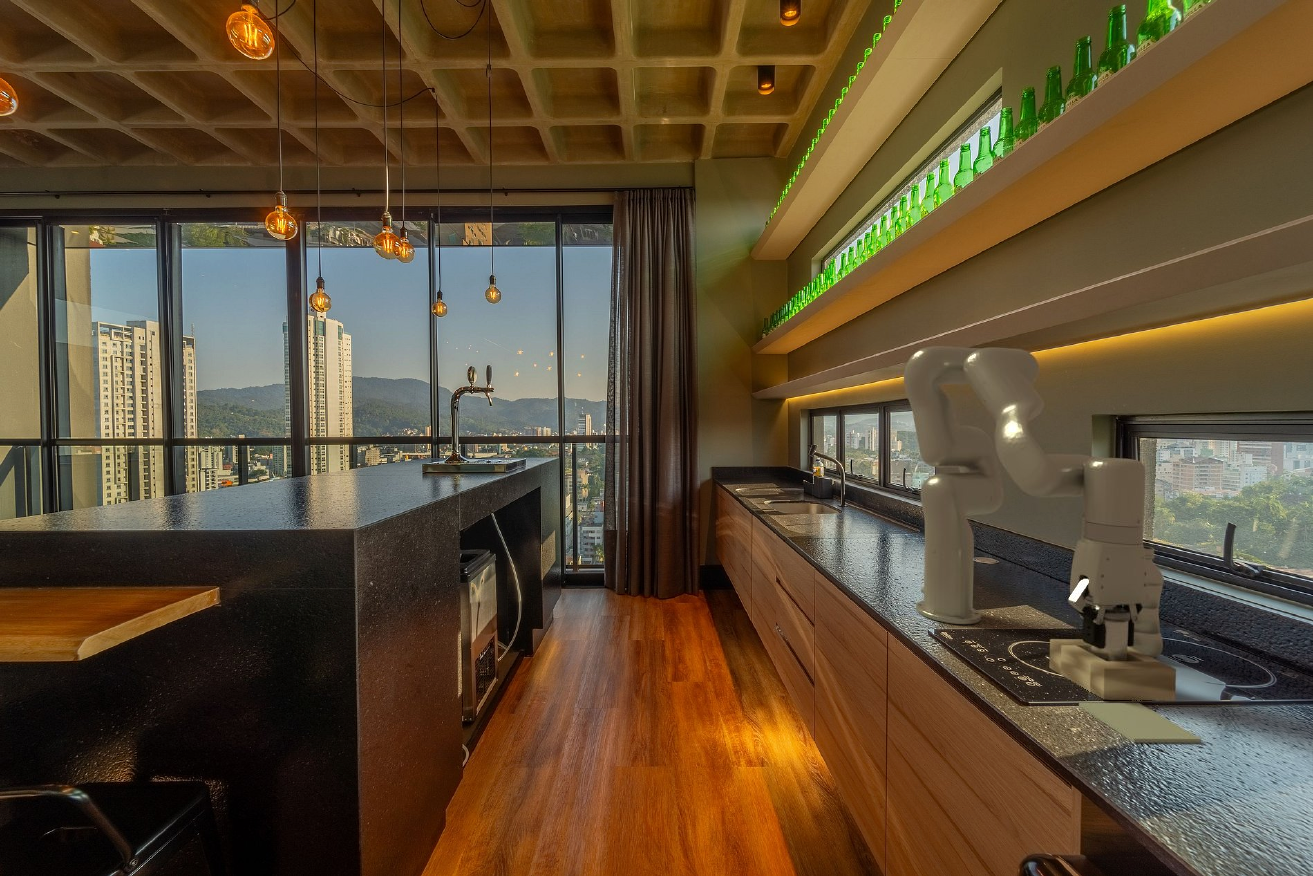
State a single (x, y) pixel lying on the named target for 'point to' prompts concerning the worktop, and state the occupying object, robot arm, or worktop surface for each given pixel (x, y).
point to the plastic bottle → (1150, 612)
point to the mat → (1139, 723)
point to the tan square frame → (1113, 672)
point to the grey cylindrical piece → (1113, 635)
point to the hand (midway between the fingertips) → (1107, 643)
